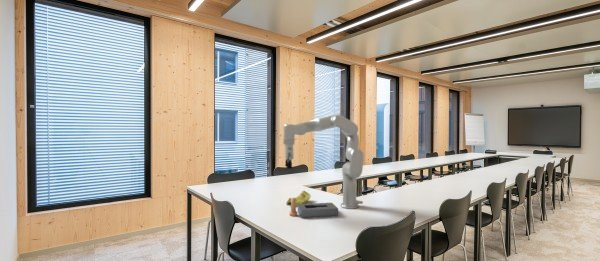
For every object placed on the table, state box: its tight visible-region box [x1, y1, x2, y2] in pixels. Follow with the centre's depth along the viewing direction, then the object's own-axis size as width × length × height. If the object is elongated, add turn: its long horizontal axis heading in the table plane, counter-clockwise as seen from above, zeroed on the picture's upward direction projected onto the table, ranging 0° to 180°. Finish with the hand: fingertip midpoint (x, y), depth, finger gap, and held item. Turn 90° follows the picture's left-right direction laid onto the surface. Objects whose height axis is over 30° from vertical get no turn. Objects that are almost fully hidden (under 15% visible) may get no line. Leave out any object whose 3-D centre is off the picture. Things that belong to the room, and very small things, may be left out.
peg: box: [289, 197, 298, 217], centre depth 183 cm, size 5×5×11 cm
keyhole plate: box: [297, 202, 339, 219], centre depth 186 cm, size 24×14×5 cm, turn 100°
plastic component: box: [286, 190, 311, 208], centre depth 212 cm, size 20×7×10 cm
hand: (288, 167), depth 192 cm, fingers open, 9 cm apart
